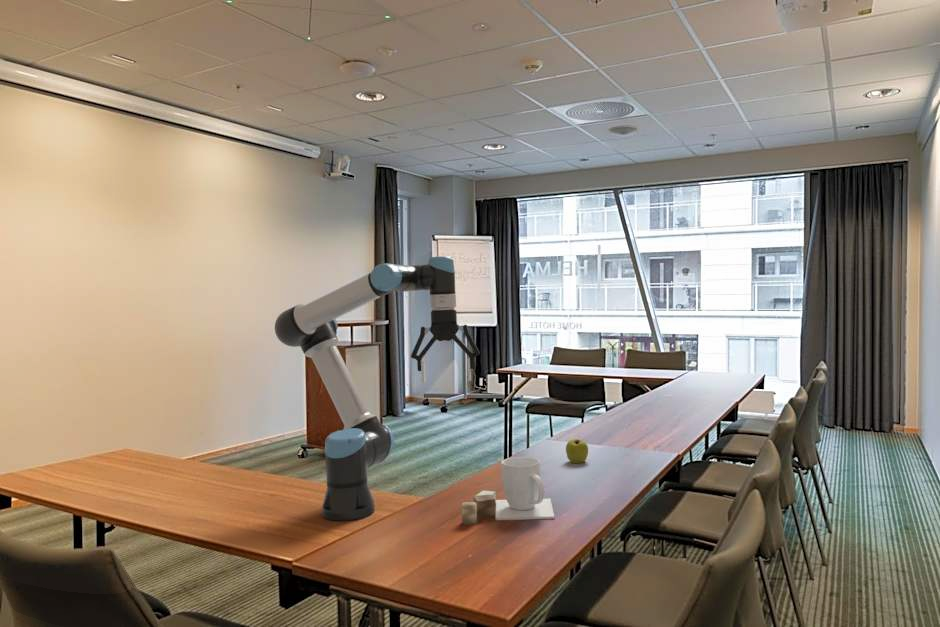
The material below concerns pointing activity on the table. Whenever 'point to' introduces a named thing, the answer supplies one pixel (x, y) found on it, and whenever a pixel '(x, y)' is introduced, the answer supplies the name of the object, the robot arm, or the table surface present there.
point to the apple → (577, 450)
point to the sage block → (488, 494)
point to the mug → (522, 482)
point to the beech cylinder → (469, 513)
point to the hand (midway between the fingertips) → (446, 381)
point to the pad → (524, 511)
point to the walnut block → (485, 506)
